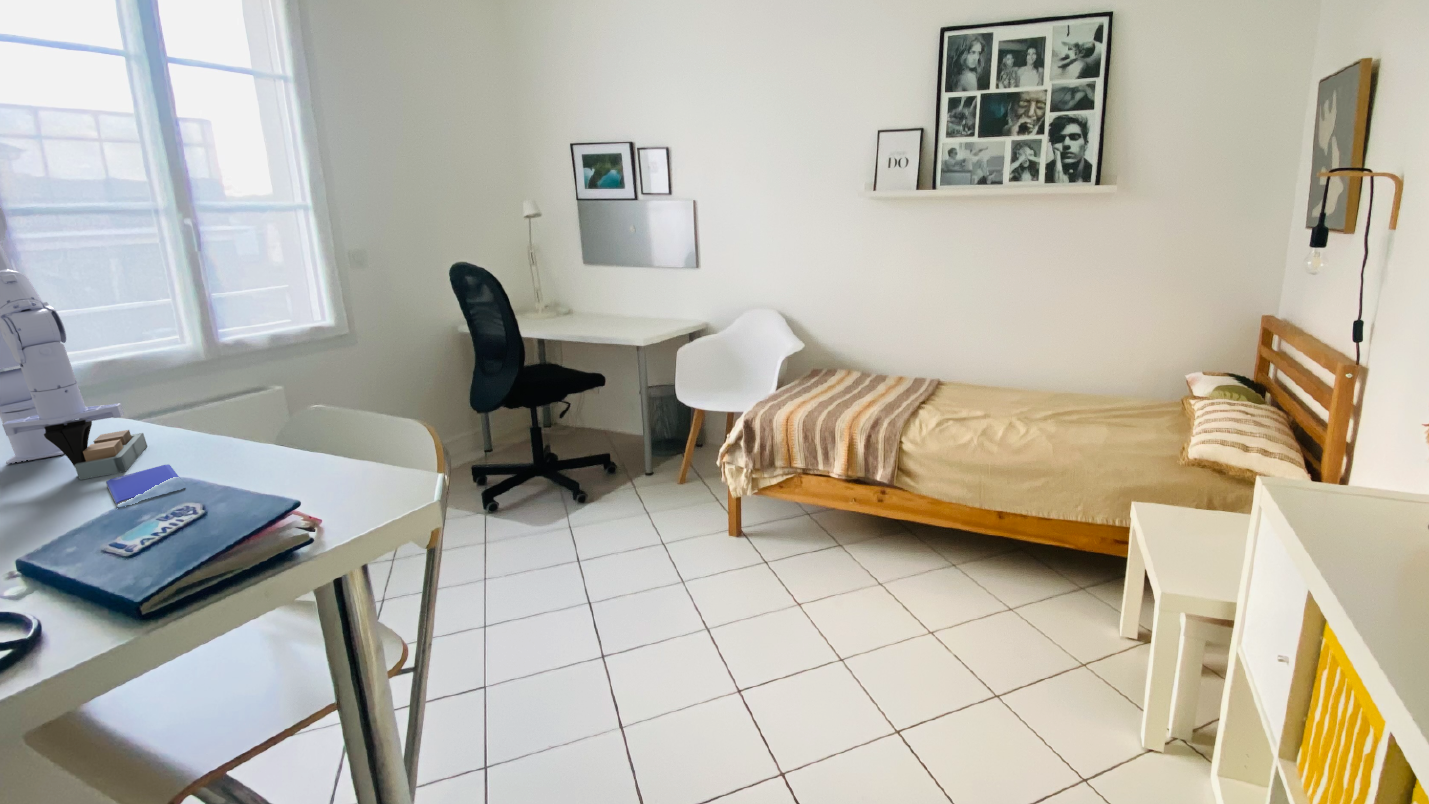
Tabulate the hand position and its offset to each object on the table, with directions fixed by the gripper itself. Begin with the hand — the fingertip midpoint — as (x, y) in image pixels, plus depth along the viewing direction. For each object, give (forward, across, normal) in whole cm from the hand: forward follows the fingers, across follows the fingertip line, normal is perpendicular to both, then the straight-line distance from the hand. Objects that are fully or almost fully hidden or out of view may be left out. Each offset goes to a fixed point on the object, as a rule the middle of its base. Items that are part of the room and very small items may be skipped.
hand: (82, 467), depth 118 cm
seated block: (+1, +3, +6) cm, 7 cm away
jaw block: (+1, +3, 0) cm, 3 cm away
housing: (+1, +3, +3) cm, 5 cm away
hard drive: (+2, +11, -15) cm, 19 cm away
